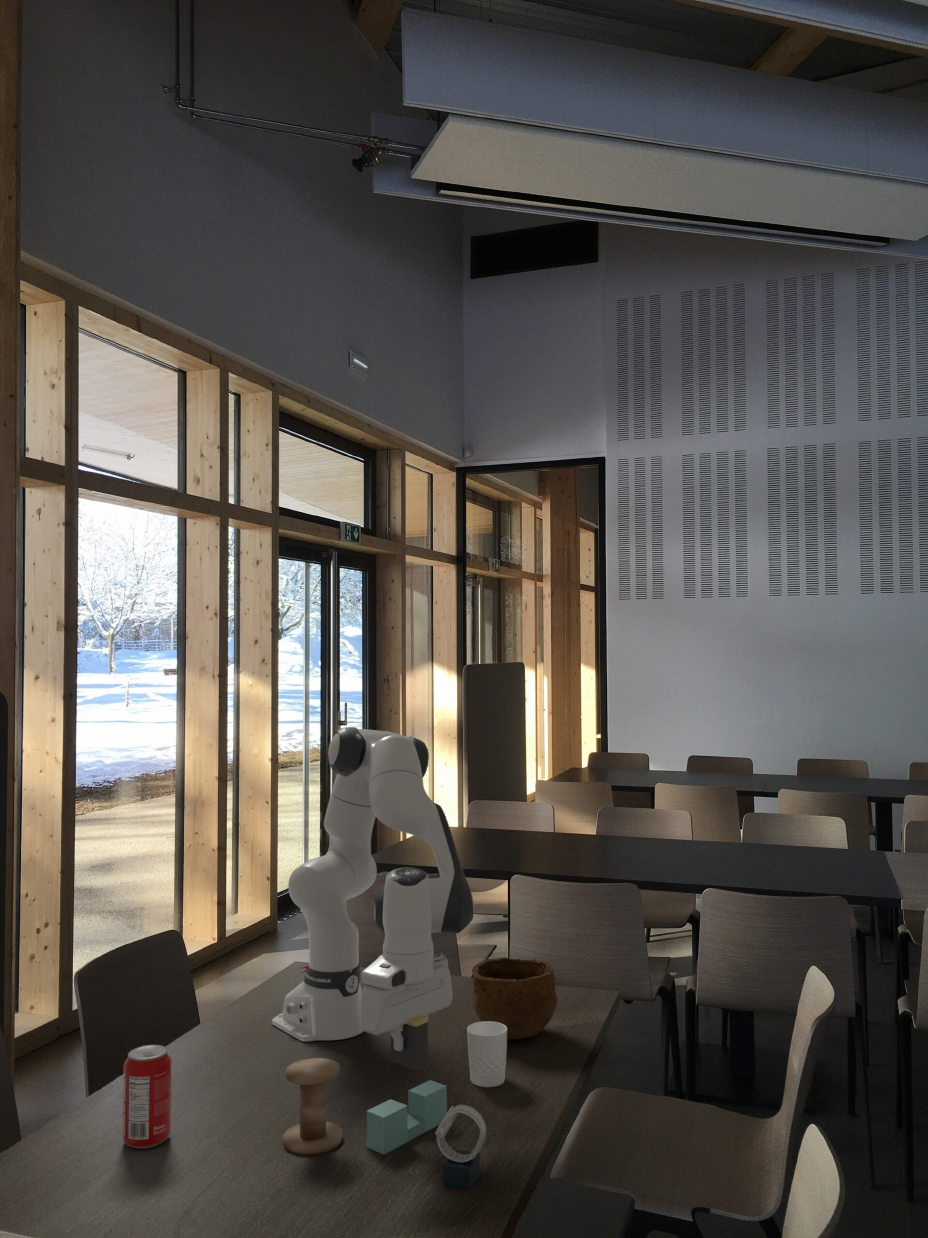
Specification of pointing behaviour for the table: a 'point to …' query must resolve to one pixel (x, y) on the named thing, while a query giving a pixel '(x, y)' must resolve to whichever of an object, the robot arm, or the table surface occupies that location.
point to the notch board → (406, 1117)
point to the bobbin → (312, 1108)
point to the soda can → (147, 1097)
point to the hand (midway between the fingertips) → (409, 1046)
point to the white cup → (487, 1053)
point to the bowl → (515, 994)
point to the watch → (460, 1151)
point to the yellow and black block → (413, 1044)
